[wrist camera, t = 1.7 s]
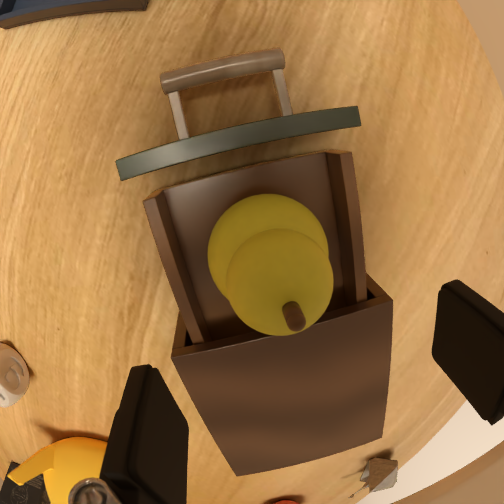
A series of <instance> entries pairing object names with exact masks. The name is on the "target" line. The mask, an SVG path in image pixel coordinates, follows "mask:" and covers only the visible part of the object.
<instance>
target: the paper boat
mask: <svg viewBox="0 0 504 504" xmlns="http://www.w3.org/2000/svg"><path fill="white" fill-rule="evenodd" d="M397 470H398V462H397V460H389V459H381V458H373V459H371V460H369V461H368V464H367V466H366V468H365V470H364V473H363V475H362V477H361V479H360V481H363V482H366V483H365V484H364V486H363V487H362V488H361V489H363V488H366V487H369V489H370V493H371V492H375V491H379V490H384V489H388V488H391V487H393V486H394V485H395V483H396V482H397ZM361 489H360V490H361ZM360 490H359V491H360ZM359 491H357V492H359ZM357 492H356V493H357ZM356 493H355V494H356ZM353 496H354V494H353V495H351V496H350V497H349V498H352V497H353Z"/></svg>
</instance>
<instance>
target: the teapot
mask: <svg viewBox="0 0 504 504" xmlns="http://www.w3.org/2000/svg"><path fill="white" fill-rule="evenodd" d="M107 443H108V442H105V441H101V440H98V439H93V438H88V437H71V438H67V439H63V440H60V441H57V442H55V443H53V444H51V445H48V446H46V447H44V448H42V449H40V450H39V451H38V452H36V453H35V454H34V455H32V456H31V457H30V458H28V459H27V460H26V461H25V462H23V463H22V464H21V465H19V466H18V467H17V468H15V469H14V470H13V471H11V472H10V473H9V474H8V475H7V477H9V478H10V479H11V480H13V481H14V482H15V483H17V484H18V485H19V486H20V485H24V483H25V482H27V481H29V480H31V479H32V478H34V477H36V476H38V475H39V474H41V473H43V476H44V482H45V487H46V490H47V494H48V497H49V499H50V502H51V504H68V496H69V493H70V490H71V489H72V488H73V486H74V485H75V484H76V483H78V482H79V481H81V480H83V479H85V478H91V477H93V478H99V475H100V471H101V466H102V462H103V458H104V454H105V450H106V446H107Z"/></svg>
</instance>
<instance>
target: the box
mask: <svg viewBox="0 0 504 504" xmlns="http://www.w3.org/2000/svg"><path fill="white" fill-rule="evenodd" d="M18 466H19V465H18V464H16V463H14V462H11V464H10V466H9V469H8V472H7V474H6V477H5V480H4V482H3V485H2V488H1V491H0V504H50V503H51V502H50V499H49V497H48V494H47V490H46V487H45V482H44V476H43V474H39V475H38V476H36V477H34V478H32V479H31V480H29V481H27V482H25V483H24V485H20V486H19V485H18V484H17V483H15V482H14V481H13V480H11V479H10V478H9V477H7V475H8V474H9V473H10V472H11V471H13V470H14V469H15V468H17V467H18Z"/></svg>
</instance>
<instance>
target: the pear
mask: <svg viewBox="0 0 504 504" xmlns="http://www.w3.org/2000/svg"><path fill="white" fill-rule="evenodd" d="M207 255H208V265H209V269H210V273H211V276H212V278H213V280H214V282H215V284H216V286H217V288H218V289H219V290H220V292H221V293H222V294H223V295H224V296H225V297H226V298H227V299H228V300H229V301H230V304H231V306H232V308H233V310H234V311H235V313H236V314H237V315H238V317H239V318H240V319H241V320H242V321H243V322H244V323H245V324H247V325H248V326H249V327H251V328H253V329H255V330H256V331H258V332H261V333H264V334H268V335H275V336H285V335H291V334H295V333H298V332H301V331H303V330H305V329H307V328H308V327H310V326H311V325H313V324H314V323H315V322H316V321H317V320H318V319H319V318H320V317H321V316H322V314H323V313H324V312H325V310H326V308H327V306H328V305H329V302H330V299H331V296H332V292H333V272H332V267H331V264H330V262H329V259H328V256H329V252H328V243H327V239H326V236H325V233H324V230H323V228H322V226H321V224H320V222H319V221H318V220H317V218H316V217H315V216H314V214H313V213H312V212H311V211H310V210H309V209H308V208H306V207H305V206H304V205H302V204H301V203H299V202H297V201H295V200H294V199H291V198H289V197H286V196H282V195H278V194H260V195H254V196H251V197H247V198H245V199H243V200H241V201H239V202H237V203H235V204H234V205H232V206H231V207H230V208H229V209H228V210H226V211H225V212H224V213H223V215H222V216H221V217H220V218H219V220H218V221H217V223H216V224H215V226H214V228H213V230H212V233H211V236H210V239H209V244H208V254H207Z"/></svg>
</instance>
